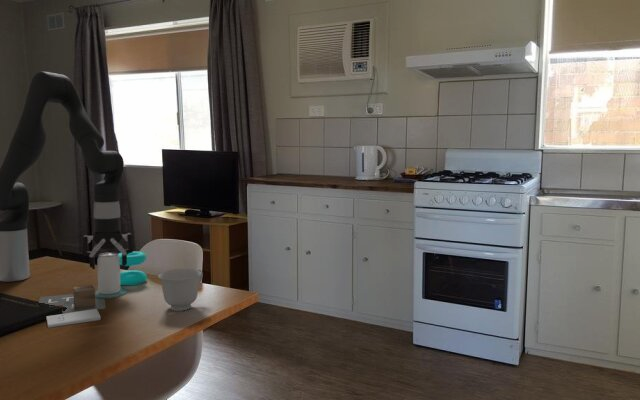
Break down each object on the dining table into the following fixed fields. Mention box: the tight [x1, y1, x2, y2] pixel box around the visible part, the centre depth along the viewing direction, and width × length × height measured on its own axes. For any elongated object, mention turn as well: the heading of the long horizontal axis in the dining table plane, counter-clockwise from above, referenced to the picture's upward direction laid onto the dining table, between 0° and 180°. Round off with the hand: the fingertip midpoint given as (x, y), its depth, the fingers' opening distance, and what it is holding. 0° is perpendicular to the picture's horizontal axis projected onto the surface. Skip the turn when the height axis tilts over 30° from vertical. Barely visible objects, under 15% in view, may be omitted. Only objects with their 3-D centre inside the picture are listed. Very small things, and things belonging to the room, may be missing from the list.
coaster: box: [95, 287, 128, 299], centre depth 161 cm, size 10×10×1 cm
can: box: [96, 252, 122, 295], centre depth 160 cm, size 6×6×12 cm
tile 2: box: [61, 298, 106, 314], centre depth 149 cm, size 11×11×1 cm
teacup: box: [157, 268, 204, 312], centre depth 148 cm, size 12×15×10 cm
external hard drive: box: [45, 309, 102, 329], centre depth 137 cm, size 2×8×12 cm
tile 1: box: [38, 293, 74, 307], centre depth 153 cm, size 11×11×1 cm
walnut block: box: [72, 284, 96, 309], centre depth 149 cm, size 5×5×5 cm
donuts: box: [118, 250, 148, 286], centre depth 174 cm, size 10×10×10 cm
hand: (108, 267), depth 160 cm, fingers open, 8 cm apart
